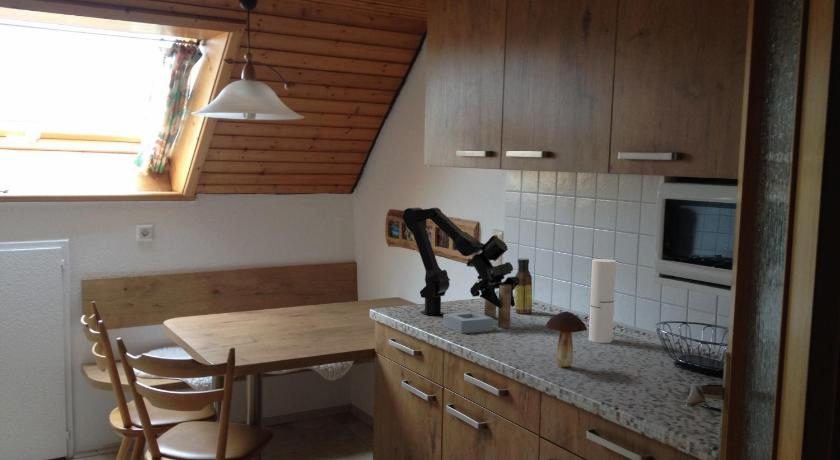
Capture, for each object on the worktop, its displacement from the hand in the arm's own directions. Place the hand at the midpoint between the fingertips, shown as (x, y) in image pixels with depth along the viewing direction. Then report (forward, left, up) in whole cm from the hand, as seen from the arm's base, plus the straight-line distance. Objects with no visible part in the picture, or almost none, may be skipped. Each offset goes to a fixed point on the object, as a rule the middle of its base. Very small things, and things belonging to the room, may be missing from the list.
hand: (507, 306), depth 250 cm
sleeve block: (-4, -12, -7) cm, 15 cm away
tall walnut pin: (-1, 0, -7) cm, 7 cm away
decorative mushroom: (+47, -12, -7) cm, 49 cm away
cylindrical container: (+26, +18, -7) cm, 32 cm away
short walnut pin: (-16, +4, -7) cm, 18 cm away
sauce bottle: (-19, +20, -7) cm, 29 cm away
